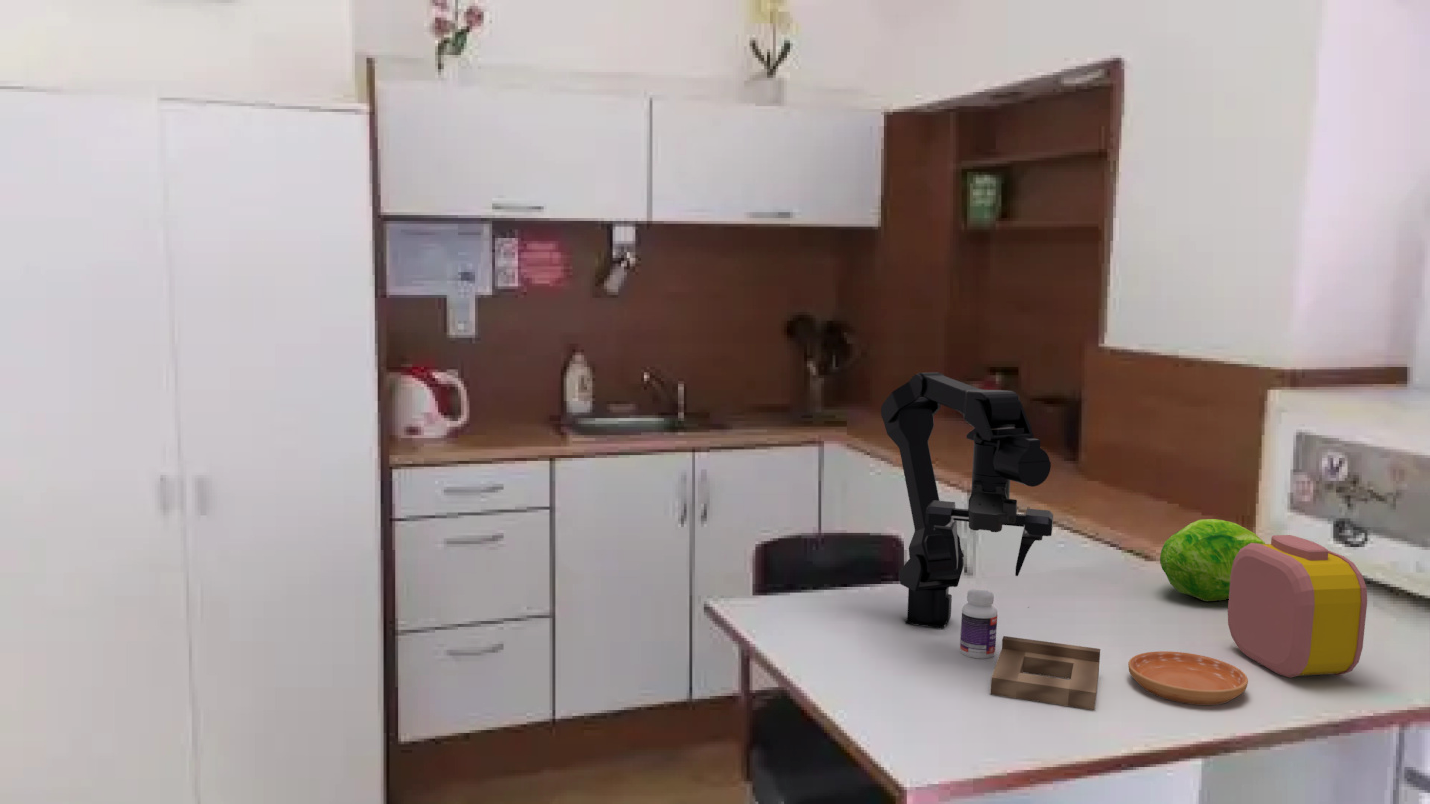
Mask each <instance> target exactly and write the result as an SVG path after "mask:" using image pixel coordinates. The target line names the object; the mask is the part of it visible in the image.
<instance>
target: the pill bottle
mask: <svg viewBox="0 0 1430 804" xmlns="http://www.w3.org/2000/svg"><path fill="white" fill-rule="evenodd" d="M994 598H995V594H994V593H993V592H992V591H989V590H986V589H980V588H979V589H977V588H975V589H974V588H973V589H969V590H968V591H967V594H966V600H967V603H965V604H964V605H963V606H962V609H961V619H960V620H961V621H960V623H961V624H960V639H959V640H960V641H959V650H960V654H962V655H963V656H966V657H968V658H974V659H991V658H993V657H994V655H995V653H996V647H997V646H996V644H997V629H998V628H997V626H998V610H997V608H996V607H995V606H994V605H993V604H994V600H995V599H994Z"/></svg>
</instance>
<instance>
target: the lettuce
mask: <svg viewBox="0 0 1430 804" xmlns="http://www.w3.org/2000/svg"><path fill="white" fill-rule="evenodd" d="M1250 543H1257V544H1266V542H1265V541H1264V540H1263V539H1261V538H1260V536H1258V535H1257V534H1256V533H1255V532H1253V531H1251V530H1249V529H1247V528H1245V527H1243V526H1241V525H1240V524H1238V523H1236V522H1233V521H1227V520H1223V519H1215V518H1213V519H1212V518H1210V519H1207V518H1206V519H1205V518H1204V519H1197V520H1195V521H1193V522H1191V523H1188V525H1186V526H1185V527H1183V528H1181V529H1180V530H1178V531H1177V532H1175V533H1173V534H1172V535H1171V536H1169V538H1167V539H1166V540H1165V541H1164V543H1163V546H1162V547H1161V551H1160V556H1159V563H1160V567H1161V569H1162V571H1163V573H1164V574H1165V576H1166V578H1167V580H1168V582H1169V583H1170V585H1171V586H1173V588H1174V589H1176V591H1177V592H1178V593H1181V594H1183V595H1186V596H1189V597H1193V598H1196V599H1199V600H1202V601H1204V602H1214V601H1215V602H1216V601H1217V600H1219V601H1227V600H1226V599H1229V590H1230V578H1231V570H1232V565H1233V561H1234V559H1235V557H1236V556H1237V554H1238V552H1239V551H1240V549H1242V548H1243V547H1245V546H1247V545H1248V544H1250Z"/></svg>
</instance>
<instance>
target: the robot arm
mask: <svg viewBox="0 0 1430 804" xmlns="http://www.w3.org/2000/svg"><path fill="white" fill-rule="evenodd" d="M942 406H944V407H947V408H948V409H952V410H954V411H957V412H959V413H960V414H962V416H963V420H964V421H965V422H966V423H968V424H969V425H970V426H972V428H973V429H972V430H971V431H969V432H968V433H967V434H966V439H968V440H970V441H973V452H972V472H971V488H970V489H971V491H970V492H971V494H970V496H969V498H968V508H956V501H947V500H946V501H945V500H940V497H939V493H938V492H939V490H938V487H937V482H936V475H935V472H934V466H933V462H932V456H931V451H930V446H929V440H930V438H931V436H932V432H933V431H934V427H935V421H934V416H935V415H936V414H937V412H939V410H940V409H941V408H942ZM880 415H881V418H882V421H883V425H884V427H885V431H886V435H887V436H888V437H889V438H890V439H891V440H892V442H894V443H895V445H896V446H897V447H898V449H899V453H900V459H901V465H902V469H903V473H904V474H903V475H904V479H905V485H906V491H907V496H908V501H909V502H908V503H909V507H910V511H911V516H912V517H911V518H912V522H913V523H912V524H913V528H914V532H913V535H912V537H911V540H910V543H909V546H908V555H909V559H908V560H907V561H906V562H905V564H903V566H902V567H901V568H900V570H899V571H898V576H899V583H900V585H901V586H904V587H905V588H907V589H908V593H907V594H908V596H907V616H906V618H905V619H904V623H905V624H906V625H907V624H908V625H913V626H922V627H929V628H934V629H935V628H937V629H944V628H945V627H946V625H947V623H948V622H949V621H950V620H951V618H952V604H953V603H952V599H953V598H952V594H951V593H949V592H950V591H949V589H950V588H952V587H953V588H956V587H958V586H959V583H960V579H961V576H962V574H963V569H964V565H965V563H964V557H965V556H964V553H963V551H962V547H961V546H962V545H961V538H960V536H959V534H958V523H957V522H966V523H967V522H968V528H969V529H970V530H972V531H990V532H991V533H999V532H1001V531H1002V530H1003V526H1010V527H1020V528H1021V527H1022V528H1023V530H1022V536H1021V539H1020V545H1019V549H1018V554H1017V555H1018V556H1017V559H1016V565H1015V572H1014V573H1015V575H1014V576H1015V577H1019V575H1020V572H1021V570H1022V567H1023V565H1024V562H1025V560H1026V557H1027V555H1028V552H1029V550H1030V549H1031V547H1032V545H1033V544H1034V543H1035V541H1043V537H1051V536H1052V535H1053V534H1052V533H1053V524H1054V514H1053V513H1052V512H1051V510H1047V509H1038V508H1037V509H1036V508H1026V512H1025V514H1024V513H1023V514H1021V513H1018V512H1017V510H1018V500H1017V499H1013V498H1010V495H1011V481H1012V482H1015V483H1018V484H1021V485H1024V486H1028V487H1037V486H1040V485H1041V484H1043V483H1044V482H1045V481H1046V480H1047V478H1048V477H1049V474H1050V472H1051V469H1052V462H1051V460H1050V457H1049V455H1048V453H1047V452H1046V450H1044V449H1043V448H1041V440H1040V439H1038V438H1034V437H1035V436H1034V433H1033V431H1032V428H1033V427H1032V425H1031V423H1030V421H1029V419H1028V417H1027V414H1026V412H1025V409H1024V406H1023V404H1022V401H1021V400H1020V396H1019V395H1018V394H1017V393H1016V392H1015V391H1013V390H1005V389H1003V390H1002V389H982V388H978V387H976V386H973V385H969V384H966V383H965V382H963V381H959V380H956V379H954V378H951V377H948V376H946V375H944V373H940V372H918V373H917V374H914V375H913V376H911V378H910V379H909V380H908V382H906V383H904V384H902V385H901V386H899V387H897V388H895V389H894V390H893V391H892V392H891V393H890V394H889V395H888V396H887V397H886V399H885V400H884V402H883V403H882V404H881V407H880Z"/></svg>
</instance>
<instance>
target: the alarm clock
mask: <svg viewBox="0 0 1430 804" xmlns="http://www.w3.org/2000/svg"><path fill="white" fill-rule="evenodd" d="M1270 540H1271V541H1270V543H1268V544H1267V543H1265V544H1257V543H1250V544H1248V545H1247V546H1245V547H1243V548H1242V549H1240V551H1239V552H1238V554H1237V556H1236V557H1235V559H1234V561H1233V565H1232V570H1231V578H1230V590H1229V600H1228V601H1227V602H1228V603H1227V625H1228V629H1229V632H1230V636H1231V638H1232V640H1233V641H1234V642H1233V643H1235V646H1236V647H1237V649H1239V650H1240V652H1242V653H1243V654H1244V655H1245V656H1246V657H1248V658H1250V659H1251V660H1253V661H1254V662H1256V663H1258V664H1260V665H1261V666H1263V667H1266V668H1267V669H1269V670H1270V671H1272V672H1273V673H1276V674H1278V675H1280V676H1283V677H1286V678H1290V679H1291V678H1292V679H1293V678H1294V677H1297V676H1300V677H1301V676H1314V675H1315V676H1316V675H1319V676H1320V675H1334V676H1341V675H1345V674H1347V673H1351V672H1352V671H1353V670H1354V669H1355V668H1356V666H1357V665H1358V664H1359V662H1360V660H1361V656H1362V651H1363V647H1364V638H1365V629H1366V618H1367V607H1368V589H1367V585H1366V581H1365V579H1364V575H1362V572H1361V571H1360V570H1359V569H1358V567H1357V566H1356V565H1355V563H1354V562H1353V561H1352V560H1350V559H1348V557H1345V555H1341V554H1339V553H1336V552H1333V551H1331V550H1329V549H1327V548H1326V547H1325V546H1323V545H1321V544H1319V543H1316V542H1314V541H1312V540H1309V539H1307V538H1302V537H1300V536H1295V535H1292V534H1291V535H1290V534H1280V535H1279V534H1275V535H1271V538H1270Z"/></svg>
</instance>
